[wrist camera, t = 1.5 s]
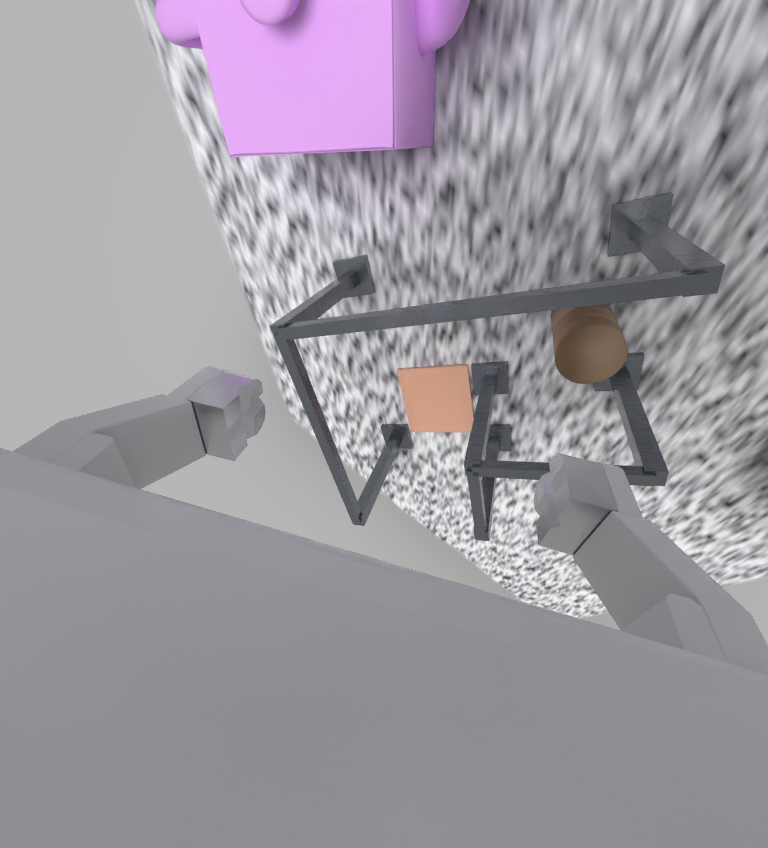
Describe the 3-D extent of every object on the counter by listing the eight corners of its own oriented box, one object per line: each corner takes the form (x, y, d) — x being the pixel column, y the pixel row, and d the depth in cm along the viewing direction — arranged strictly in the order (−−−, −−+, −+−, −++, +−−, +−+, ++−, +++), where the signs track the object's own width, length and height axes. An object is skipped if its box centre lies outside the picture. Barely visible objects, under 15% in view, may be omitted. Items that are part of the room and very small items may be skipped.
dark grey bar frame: (671, 192, 29) (772, 231, 16) (625, 451, 43) (661, 574, 31) (334, 261, 41) (248, 313, 28) (388, 445, 55) (346, 532, 43)
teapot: (518, 142, 30) (508, 144, 20) (261, 154, 37) (152, 160, 26) (568, -192, 21) (601, -528, 10) (213, -93, 27) (15, -236, 17)
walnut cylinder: (610, 282, 34) (632, 322, 26) (605, 332, 36) (623, 382, 29) (551, 289, 36) (556, 329, 28) (550, 337, 38) (554, 385, 31)
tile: (467, 364, 43) (467, 365, 43) (475, 430, 49) (475, 432, 48) (397, 368, 47) (396, 370, 46) (412, 430, 52) (411, 431, 52)
